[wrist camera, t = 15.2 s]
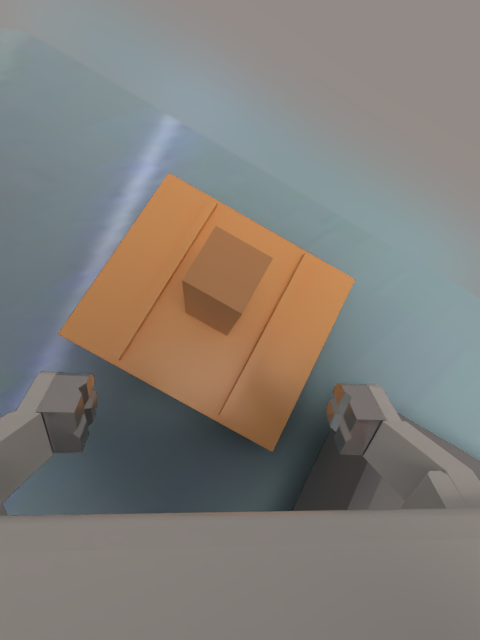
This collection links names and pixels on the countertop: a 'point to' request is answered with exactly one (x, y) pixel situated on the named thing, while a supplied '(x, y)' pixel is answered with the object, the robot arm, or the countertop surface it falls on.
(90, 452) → the countertop surface
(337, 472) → the tub
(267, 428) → the lid
